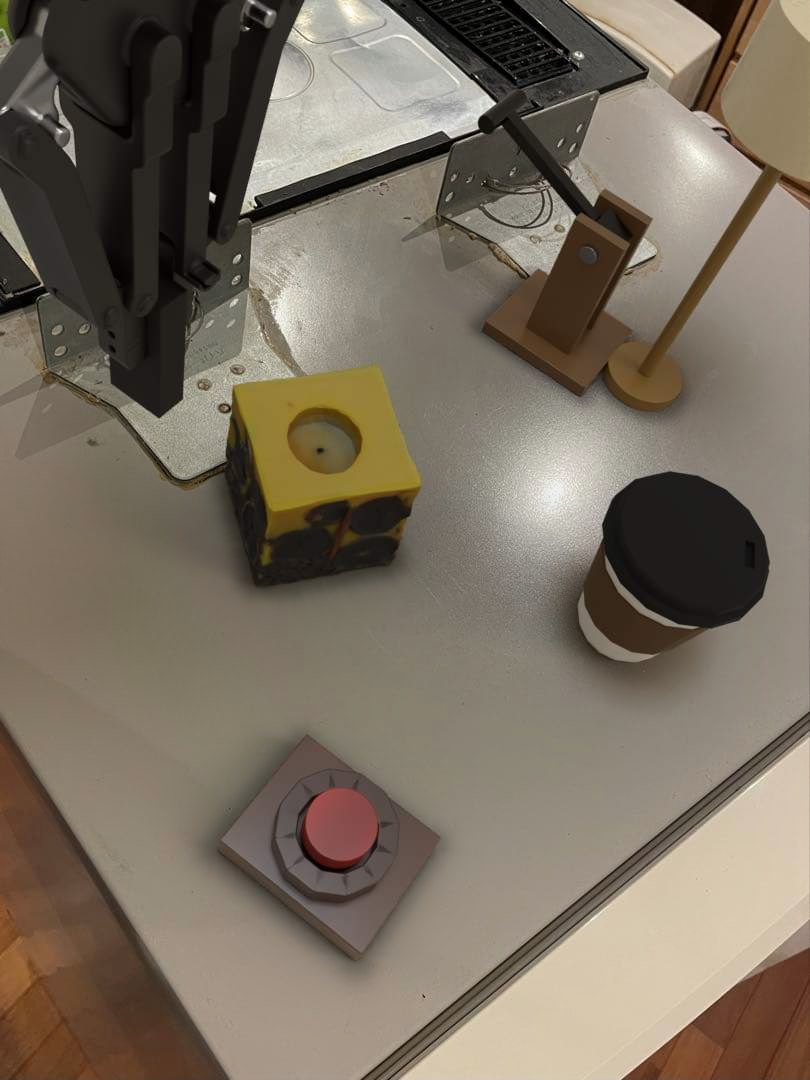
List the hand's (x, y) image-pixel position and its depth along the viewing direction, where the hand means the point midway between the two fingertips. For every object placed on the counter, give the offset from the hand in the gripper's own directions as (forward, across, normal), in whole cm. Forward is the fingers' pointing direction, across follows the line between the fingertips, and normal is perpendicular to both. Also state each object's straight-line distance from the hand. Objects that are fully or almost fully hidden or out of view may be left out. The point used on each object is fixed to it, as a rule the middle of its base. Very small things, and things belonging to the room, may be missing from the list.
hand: (147, 391), depth 42 cm
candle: (+25, +14, -2) cm, 28 cm away
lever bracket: (+24, +43, -6) cm, 50 cm away
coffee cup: (+25, +22, -24) cm, 41 cm away
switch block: (+24, -4, -17) cm, 30 cm away
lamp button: (+21, -4, -17) cm, 27 cm away
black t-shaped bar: (+12, +43, -1) cm, 45 cm away
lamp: (+24, +44, -14) cm, 52 cm away
